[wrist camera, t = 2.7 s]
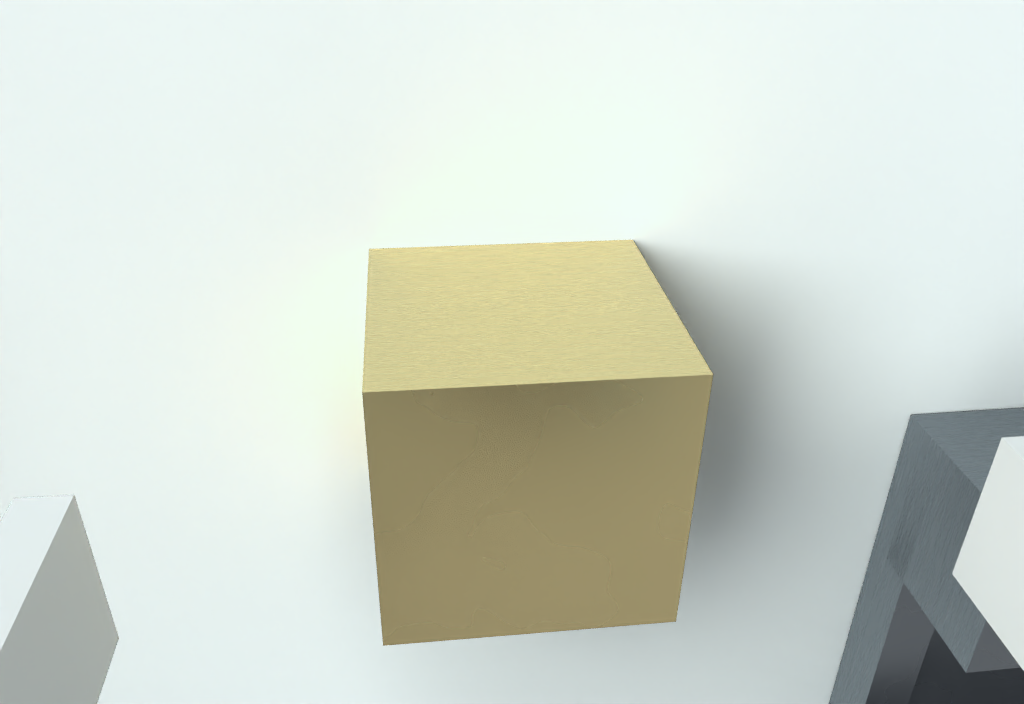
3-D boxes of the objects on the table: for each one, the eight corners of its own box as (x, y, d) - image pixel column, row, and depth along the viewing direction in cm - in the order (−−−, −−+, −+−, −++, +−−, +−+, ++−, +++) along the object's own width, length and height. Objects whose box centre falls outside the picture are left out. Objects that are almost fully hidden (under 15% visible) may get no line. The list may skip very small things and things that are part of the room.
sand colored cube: (613, 448, 20) (676, 621, 15) (384, 462, 19) (383, 645, 15) (632, 238, 17) (712, 374, 13) (369, 247, 17) (362, 392, 12)
